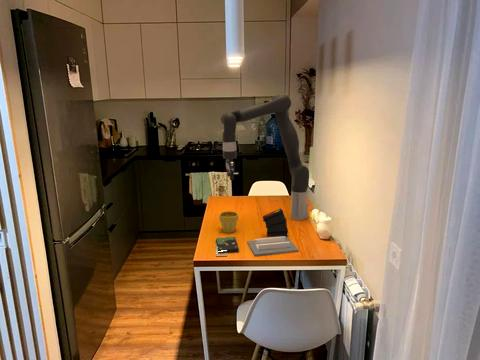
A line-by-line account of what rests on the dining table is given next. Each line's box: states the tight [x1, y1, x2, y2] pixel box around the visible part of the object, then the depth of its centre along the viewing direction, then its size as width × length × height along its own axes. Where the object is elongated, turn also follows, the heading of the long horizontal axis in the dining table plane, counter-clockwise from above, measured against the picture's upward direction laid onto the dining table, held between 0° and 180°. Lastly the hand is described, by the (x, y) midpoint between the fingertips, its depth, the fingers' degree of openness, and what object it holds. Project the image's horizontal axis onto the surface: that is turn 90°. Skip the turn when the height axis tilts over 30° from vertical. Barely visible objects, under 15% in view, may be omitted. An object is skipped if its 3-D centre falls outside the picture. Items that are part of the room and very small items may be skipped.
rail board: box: [246, 236, 299, 257], centre depth 185 cm, size 22×16×4 cm
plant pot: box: [218, 210, 239, 234], centre depth 207 cm, size 10×10×10 cm
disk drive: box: [215, 236, 240, 255], centre depth 187 cm, size 10×3×15 cm
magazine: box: [262, 208, 289, 237], centre depth 199 cm, size 4×13×15 cm, turn 84°
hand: (230, 178), depth 209 cm, fingers open, 8 cm apart
